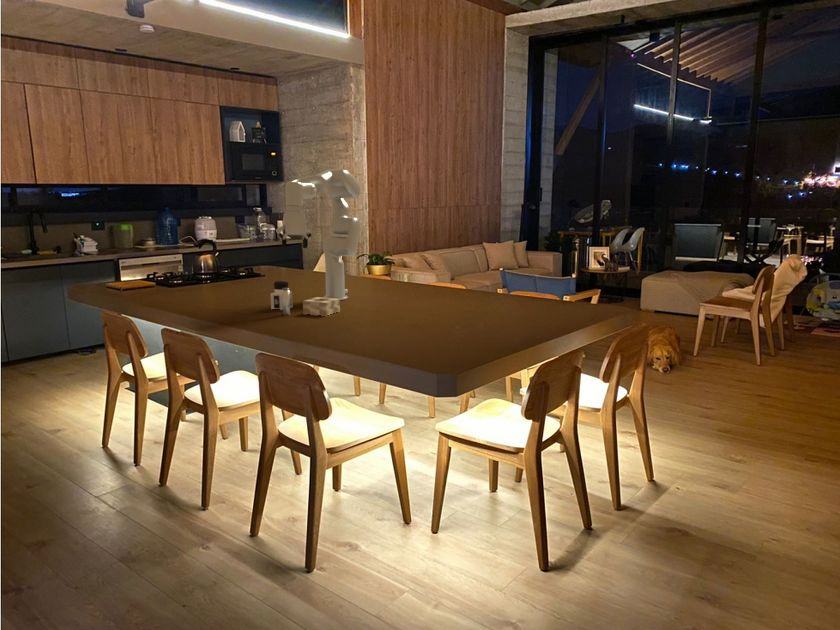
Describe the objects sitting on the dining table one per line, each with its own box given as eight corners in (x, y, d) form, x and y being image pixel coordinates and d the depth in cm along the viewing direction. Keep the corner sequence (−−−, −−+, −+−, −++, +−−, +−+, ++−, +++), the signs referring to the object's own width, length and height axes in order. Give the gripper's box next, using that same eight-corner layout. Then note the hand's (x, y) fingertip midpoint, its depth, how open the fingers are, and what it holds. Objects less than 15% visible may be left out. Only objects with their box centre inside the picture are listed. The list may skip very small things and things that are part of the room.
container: (286, 310, 294) (285, 282, 292) (270, 309, 296) (269, 282, 293) (293, 307, 302) (292, 280, 299) (277, 306, 303) (276, 279, 301)
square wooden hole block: (317, 309, 296) (317, 297, 295) (340, 311, 291) (339, 298, 290) (303, 314, 285) (302, 301, 284) (326, 316, 280) (326, 302, 279)
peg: (286, 313, 286) (285, 287, 283) (291, 314, 284) (290, 287, 282) (282, 315, 283) (281, 288, 281) (287, 315, 282) (286, 288, 279)
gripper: (309, 210, 292) (309, 247, 295) (273, 209, 283) (273, 247, 286) (315, 210, 286) (316, 248, 288) (278, 209, 277) (279, 248, 279)
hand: (294, 248), depth 287 cm, fingers open, 9 cm apart
